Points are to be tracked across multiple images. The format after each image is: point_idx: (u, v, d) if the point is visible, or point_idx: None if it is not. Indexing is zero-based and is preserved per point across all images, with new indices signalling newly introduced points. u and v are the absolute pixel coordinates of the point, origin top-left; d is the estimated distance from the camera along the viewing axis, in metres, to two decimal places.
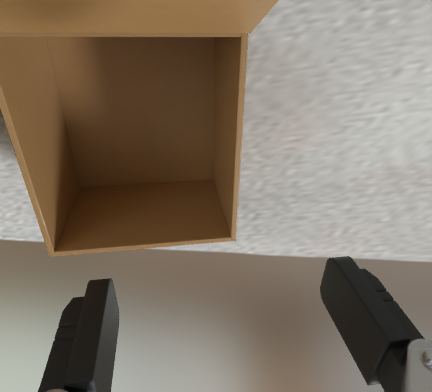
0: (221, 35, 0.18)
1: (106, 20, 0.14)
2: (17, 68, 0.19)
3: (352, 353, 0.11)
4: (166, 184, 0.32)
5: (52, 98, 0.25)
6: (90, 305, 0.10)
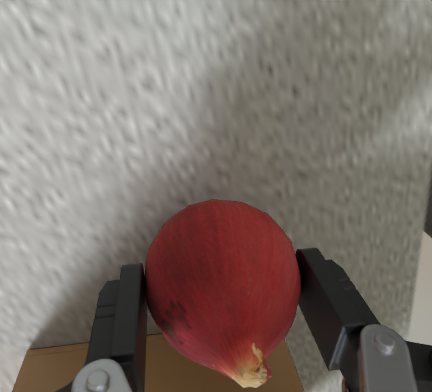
0: None
1: None
2: None
3: (316, 340, 0.11)
4: None
5: None
6: (126, 287, 0.10)
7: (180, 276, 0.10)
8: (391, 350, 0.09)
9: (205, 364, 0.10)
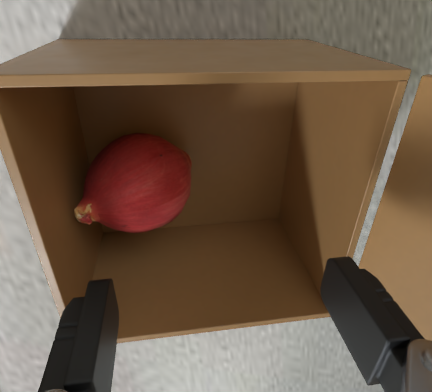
0: None
1: (409, 251, 0.13)
2: None
3: (352, 353, 0.11)
4: None
5: None
6: (90, 305, 0.10)
7: (95, 157, 0.18)
8: None
9: None
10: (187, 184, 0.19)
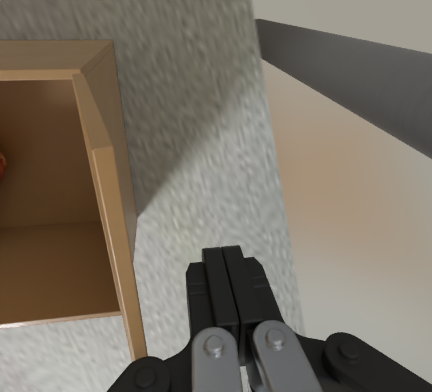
0: None
1: (108, 250, 0.13)
2: None
3: None
4: None
5: None
6: (212, 267, 0.11)
7: None
8: (279, 345, 0.09)
9: None
10: None
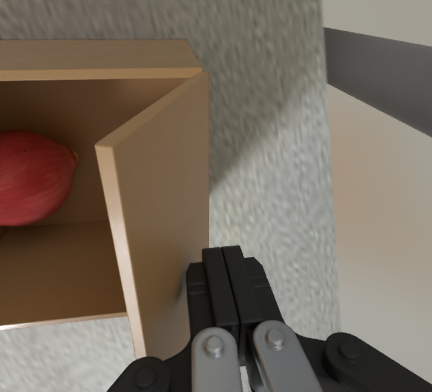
0: None
1: None
2: None
3: None
4: None
5: None
6: (212, 267, 0.11)
7: None
8: (279, 346, 0.09)
9: None
10: (58, 179, 0.19)
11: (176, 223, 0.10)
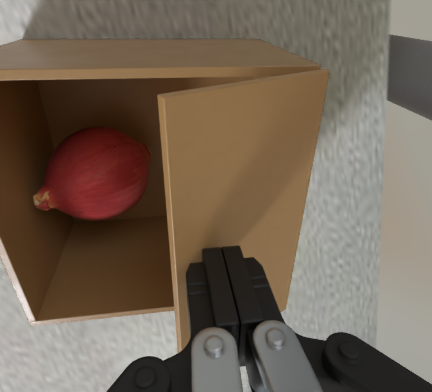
0: None
1: None
2: None
3: None
4: None
5: None
6: (212, 267, 0.11)
7: None
8: (279, 345, 0.09)
9: None
10: (142, 174, 0.20)
11: (240, 188, 0.12)
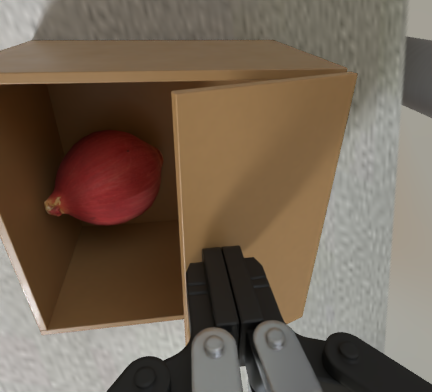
0: None
1: None
2: None
3: None
4: None
5: None
6: (212, 267, 0.11)
7: None
8: (279, 345, 0.09)
9: None
10: (155, 179, 0.19)
11: (254, 189, 0.12)
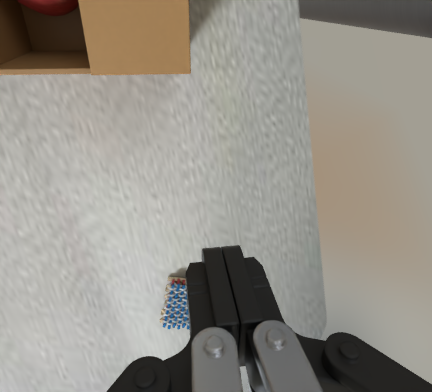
0: None
1: None
2: None
3: None
4: None
5: None
6: (212, 267, 0.11)
7: None
8: (279, 346, 0.09)
9: None
10: None
11: None
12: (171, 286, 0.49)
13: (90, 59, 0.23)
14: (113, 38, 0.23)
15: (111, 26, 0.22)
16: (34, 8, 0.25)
